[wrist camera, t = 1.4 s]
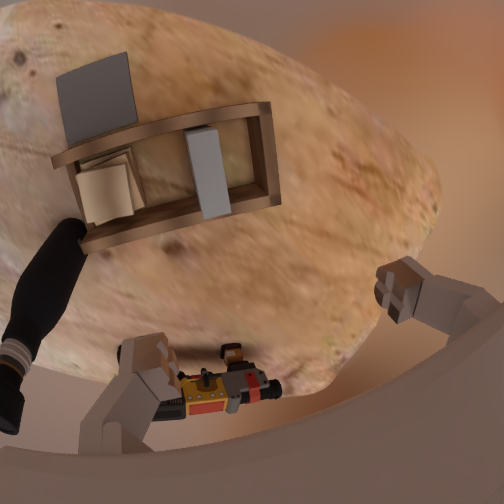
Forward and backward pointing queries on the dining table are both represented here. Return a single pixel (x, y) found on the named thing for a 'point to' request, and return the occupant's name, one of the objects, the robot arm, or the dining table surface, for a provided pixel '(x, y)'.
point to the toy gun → (219, 388)
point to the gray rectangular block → (207, 170)
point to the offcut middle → (135, 184)
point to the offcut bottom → (108, 156)
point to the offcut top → (106, 192)
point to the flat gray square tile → (96, 98)
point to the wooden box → (188, 209)
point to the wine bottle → (37, 312)
